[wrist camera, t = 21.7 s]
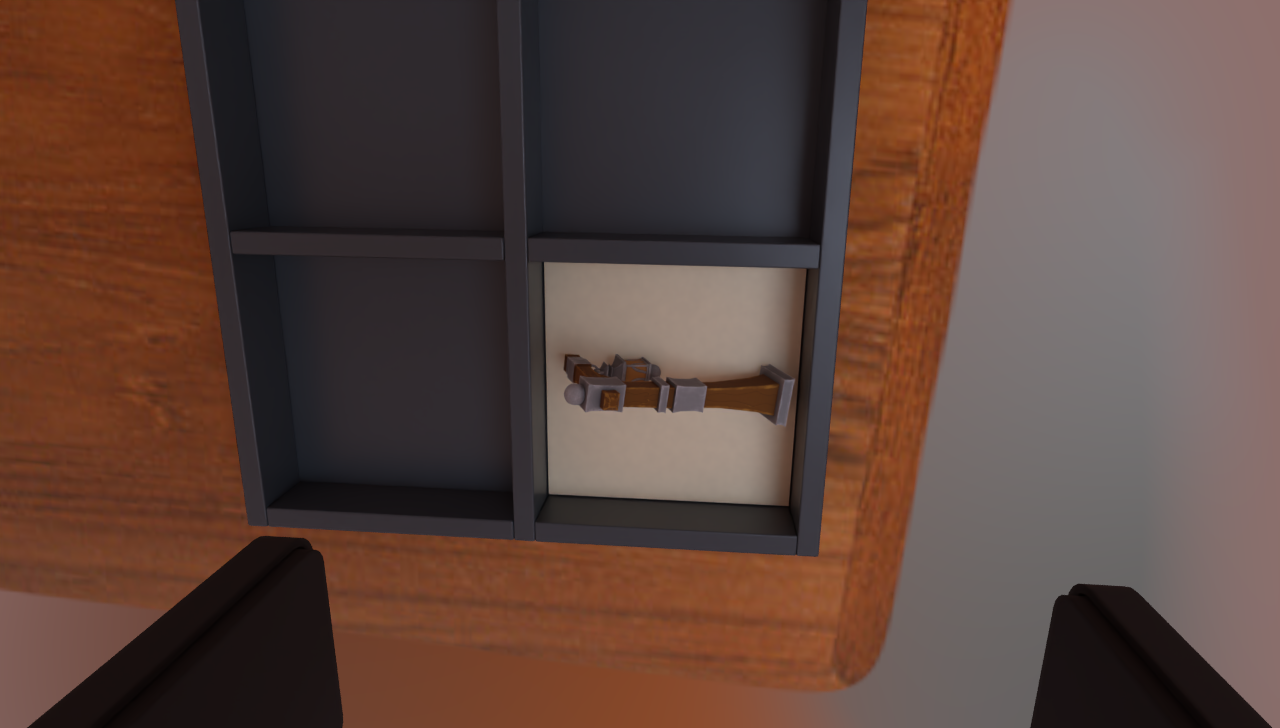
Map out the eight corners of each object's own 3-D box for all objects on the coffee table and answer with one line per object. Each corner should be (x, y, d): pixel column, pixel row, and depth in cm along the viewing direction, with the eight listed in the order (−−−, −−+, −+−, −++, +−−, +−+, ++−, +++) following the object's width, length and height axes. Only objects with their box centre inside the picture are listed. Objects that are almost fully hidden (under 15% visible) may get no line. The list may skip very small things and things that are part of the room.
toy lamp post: (543, 336, 26) (573, 375, 22) (739, 344, 29) (798, 380, 25) (538, 383, 26) (567, 430, 22) (731, 387, 29) (788, 429, 25)
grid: (856, -88, 23) (879, -126, 20) (806, 517, 29) (818, 557, 26) (223, -81, 25) (157, -115, 22) (291, 491, 30) (247, 525, 27)
